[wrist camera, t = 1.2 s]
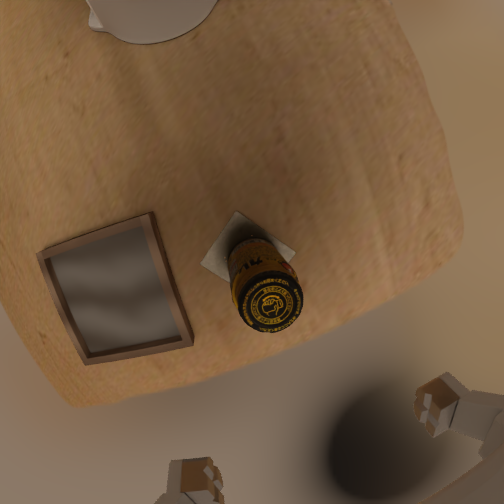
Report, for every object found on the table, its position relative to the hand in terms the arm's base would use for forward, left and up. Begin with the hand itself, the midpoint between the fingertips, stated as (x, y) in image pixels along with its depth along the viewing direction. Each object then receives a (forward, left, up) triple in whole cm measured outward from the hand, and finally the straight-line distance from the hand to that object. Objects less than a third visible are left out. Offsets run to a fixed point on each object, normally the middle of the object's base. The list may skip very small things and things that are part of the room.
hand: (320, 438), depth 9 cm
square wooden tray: (0, -17, -26) cm, 31 cm away
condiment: (0, 0, -26) cm, 26 cm away
